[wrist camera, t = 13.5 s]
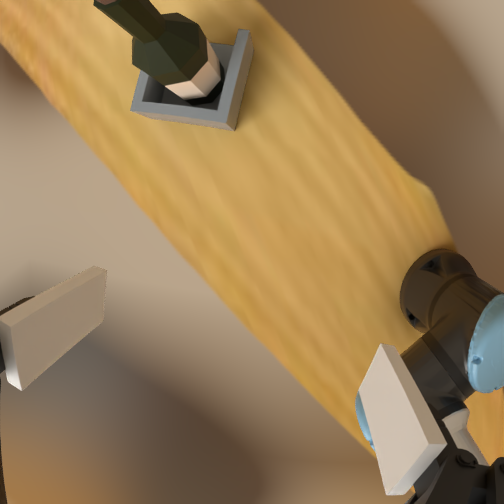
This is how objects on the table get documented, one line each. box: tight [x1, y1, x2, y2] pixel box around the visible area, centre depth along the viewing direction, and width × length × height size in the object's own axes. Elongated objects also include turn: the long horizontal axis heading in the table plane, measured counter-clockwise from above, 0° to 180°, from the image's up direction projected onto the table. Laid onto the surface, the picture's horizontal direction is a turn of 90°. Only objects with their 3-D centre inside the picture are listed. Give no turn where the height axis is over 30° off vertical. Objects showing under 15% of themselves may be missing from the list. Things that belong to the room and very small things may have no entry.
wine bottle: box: [93, 0, 225, 106], centre depth 29 cm, size 8×8×30 cm
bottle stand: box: [130, 29, 254, 131], centre depth 41 cm, size 14×14×8 cm
